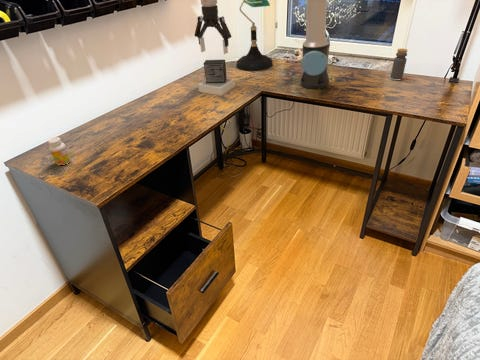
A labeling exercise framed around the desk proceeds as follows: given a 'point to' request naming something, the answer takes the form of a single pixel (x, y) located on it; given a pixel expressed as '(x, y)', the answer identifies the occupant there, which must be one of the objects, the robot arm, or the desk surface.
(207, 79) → the small box
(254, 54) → the banker's lamp
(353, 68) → the desk surface
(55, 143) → the supplement bottle
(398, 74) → the bottle
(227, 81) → the base
